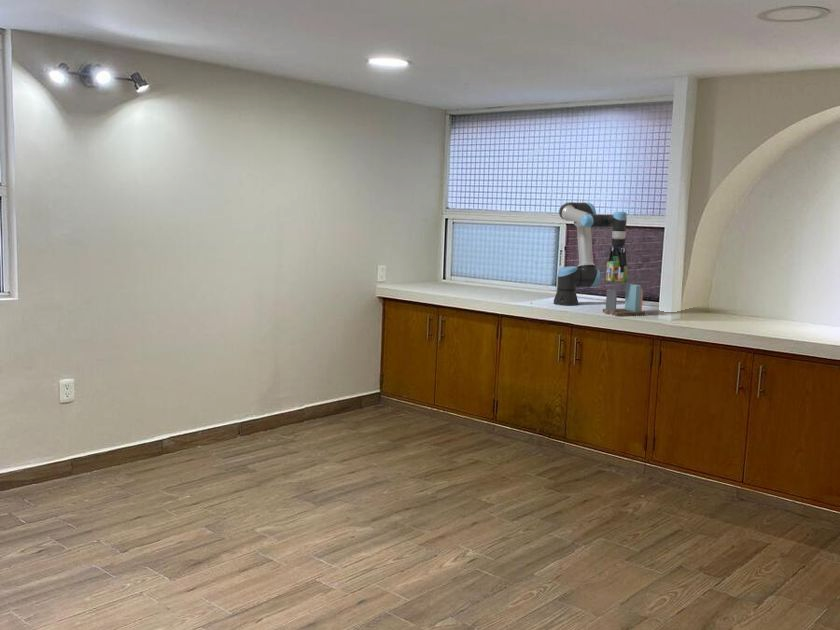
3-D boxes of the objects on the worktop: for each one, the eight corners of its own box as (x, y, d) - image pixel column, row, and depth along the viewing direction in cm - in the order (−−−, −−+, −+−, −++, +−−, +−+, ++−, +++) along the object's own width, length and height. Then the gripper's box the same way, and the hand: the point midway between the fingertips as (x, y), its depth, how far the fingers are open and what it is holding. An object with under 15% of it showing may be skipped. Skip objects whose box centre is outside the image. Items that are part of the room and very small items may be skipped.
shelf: (602, 312, 471) (602, 308, 471) (629, 311, 476) (629, 308, 476) (616, 316, 456) (616, 312, 456) (644, 315, 461) (644, 312, 461)
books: (624, 309, 472) (626, 283, 470) (631, 309, 474) (633, 283, 471) (634, 311, 462) (636, 285, 460) (642, 311, 463) (643, 285, 461)
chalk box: (611, 282, 464) (613, 256, 462) (605, 280, 473) (606, 255, 471) (626, 282, 466) (628, 256, 464) (619, 280, 475) (621, 255, 473)
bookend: (605, 309, 468) (606, 289, 466) (606, 309, 468) (608, 289, 467) (614, 312, 459) (615, 291, 457) (615, 312, 459) (617, 291, 457)
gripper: (603, 237, 475) (601, 275, 478) (622, 239, 454) (620, 279, 458) (614, 237, 477) (612, 275, 481) (634, 239, 457) (632, 279, 460)
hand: (616, 277), depth 469 cm, fingers closed on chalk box, 9 cm apart
